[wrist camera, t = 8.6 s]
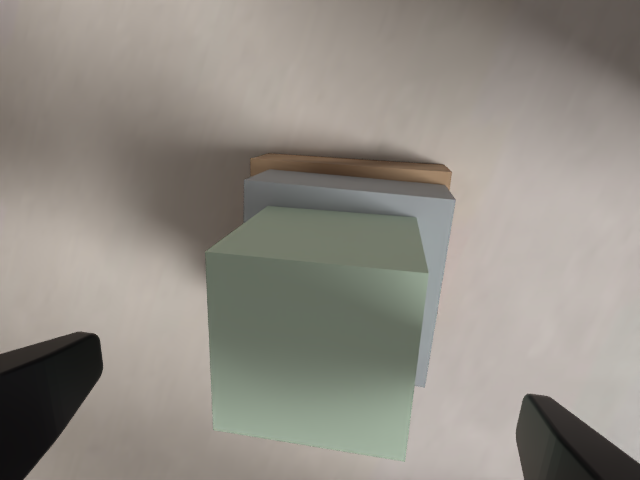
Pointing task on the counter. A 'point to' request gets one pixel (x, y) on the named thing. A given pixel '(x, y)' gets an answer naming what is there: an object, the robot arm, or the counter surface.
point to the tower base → (354, 168)
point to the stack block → (317, 328)
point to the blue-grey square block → (371, 198)
